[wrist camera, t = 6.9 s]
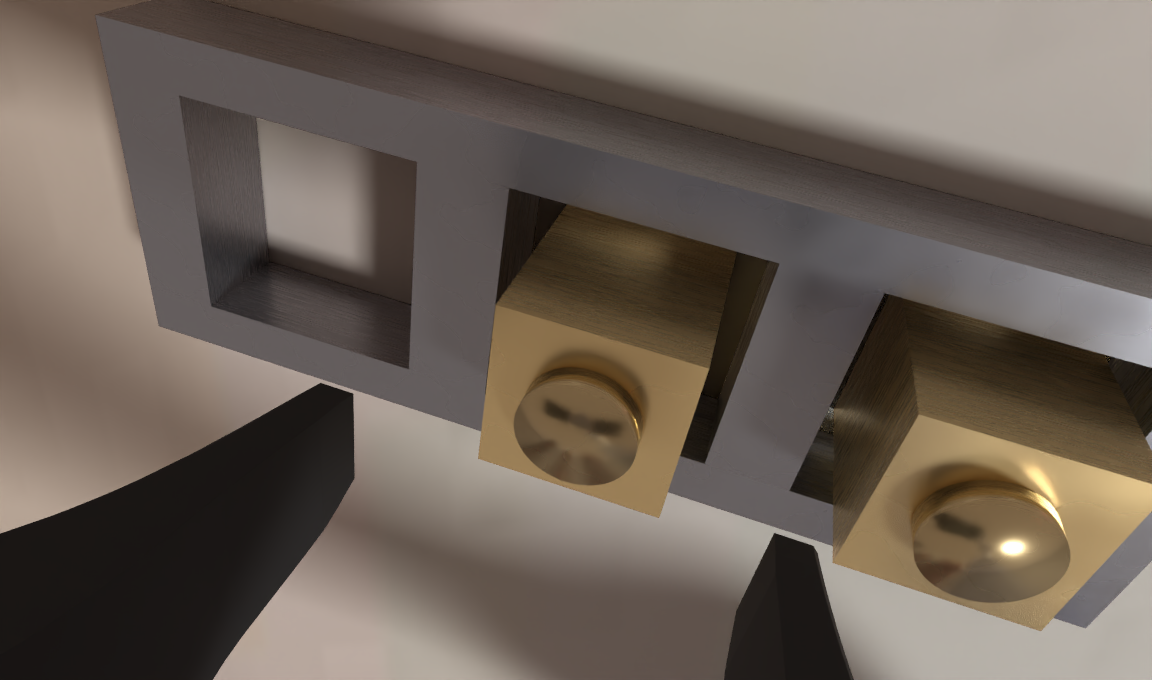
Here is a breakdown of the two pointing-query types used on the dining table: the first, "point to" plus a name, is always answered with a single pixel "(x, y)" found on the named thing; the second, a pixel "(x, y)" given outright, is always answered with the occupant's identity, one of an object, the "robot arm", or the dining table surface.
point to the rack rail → (593, 182)
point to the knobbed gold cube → (603, 357)
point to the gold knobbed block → (983, 463)
